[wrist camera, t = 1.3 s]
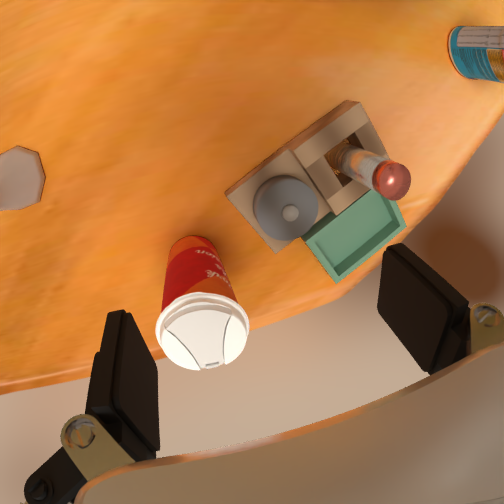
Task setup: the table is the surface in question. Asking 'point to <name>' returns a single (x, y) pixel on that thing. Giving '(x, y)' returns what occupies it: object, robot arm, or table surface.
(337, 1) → the table surface
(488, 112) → the table surface
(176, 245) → the paper cup
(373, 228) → the tray
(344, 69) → the table surface
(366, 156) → the pin
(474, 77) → the beverage bottle
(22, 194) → the flask
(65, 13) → the table surface
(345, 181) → the block
